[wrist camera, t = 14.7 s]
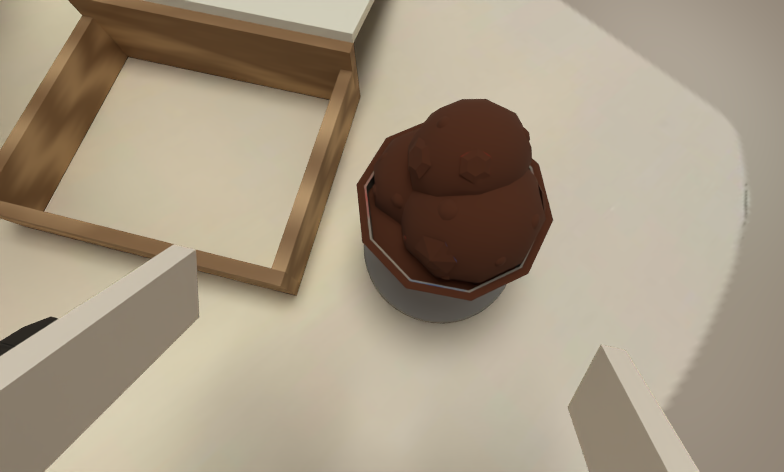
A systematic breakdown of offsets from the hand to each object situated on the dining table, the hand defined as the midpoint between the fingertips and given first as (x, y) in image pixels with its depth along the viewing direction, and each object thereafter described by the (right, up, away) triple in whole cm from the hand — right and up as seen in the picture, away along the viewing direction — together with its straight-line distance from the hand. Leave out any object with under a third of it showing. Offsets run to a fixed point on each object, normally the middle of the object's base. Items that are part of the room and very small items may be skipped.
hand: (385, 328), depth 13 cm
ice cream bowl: (+4, +2, +18) cm, 19 cm away
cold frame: (-17, +10, +21) cm, 29 cm away
